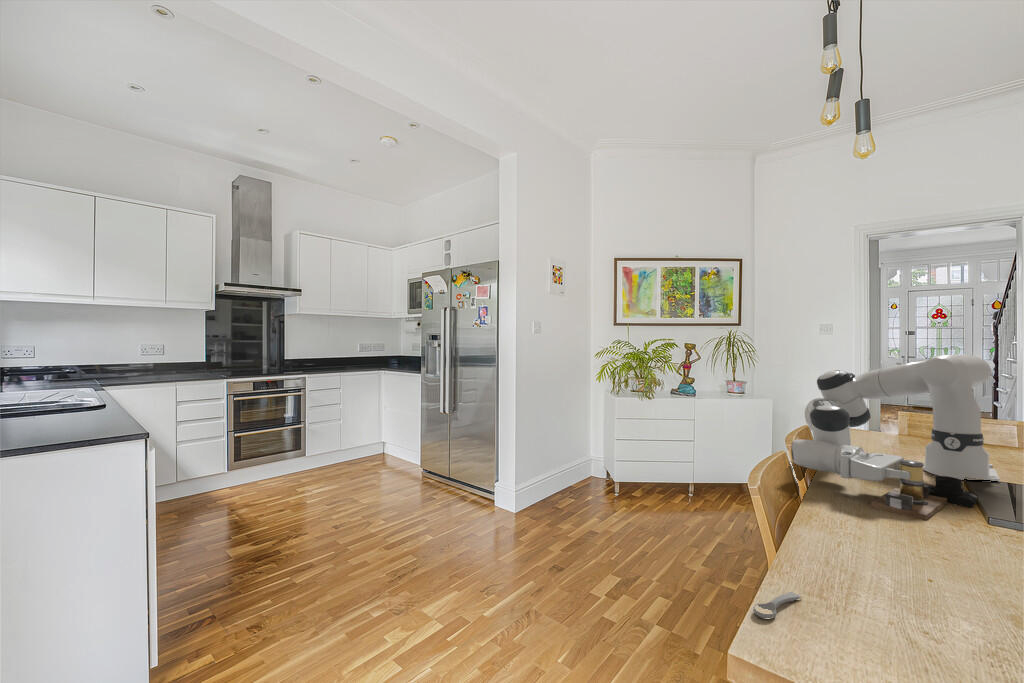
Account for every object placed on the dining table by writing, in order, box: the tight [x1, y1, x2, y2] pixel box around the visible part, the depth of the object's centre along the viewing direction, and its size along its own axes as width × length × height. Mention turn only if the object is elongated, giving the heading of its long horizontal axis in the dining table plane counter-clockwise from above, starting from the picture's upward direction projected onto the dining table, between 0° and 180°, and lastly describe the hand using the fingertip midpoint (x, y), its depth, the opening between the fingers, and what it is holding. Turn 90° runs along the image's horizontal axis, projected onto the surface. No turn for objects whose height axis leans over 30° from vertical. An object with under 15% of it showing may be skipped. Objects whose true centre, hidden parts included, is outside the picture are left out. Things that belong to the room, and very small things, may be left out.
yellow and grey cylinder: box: [898, 459, 925, 503], centre depth 119 cm, size 5×5×10 cm
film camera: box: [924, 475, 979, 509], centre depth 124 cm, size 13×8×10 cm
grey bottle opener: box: [752, 591, 802, 619], centre depth 74 cm, size 3×12×2 cm, turn 122°
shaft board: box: [870, 483, 948, 521], centre depth 120 cm, size 20×11×4 cm, turn 126°
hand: (915, 472), depth 119 cm, fingers open, 8 cm apart
